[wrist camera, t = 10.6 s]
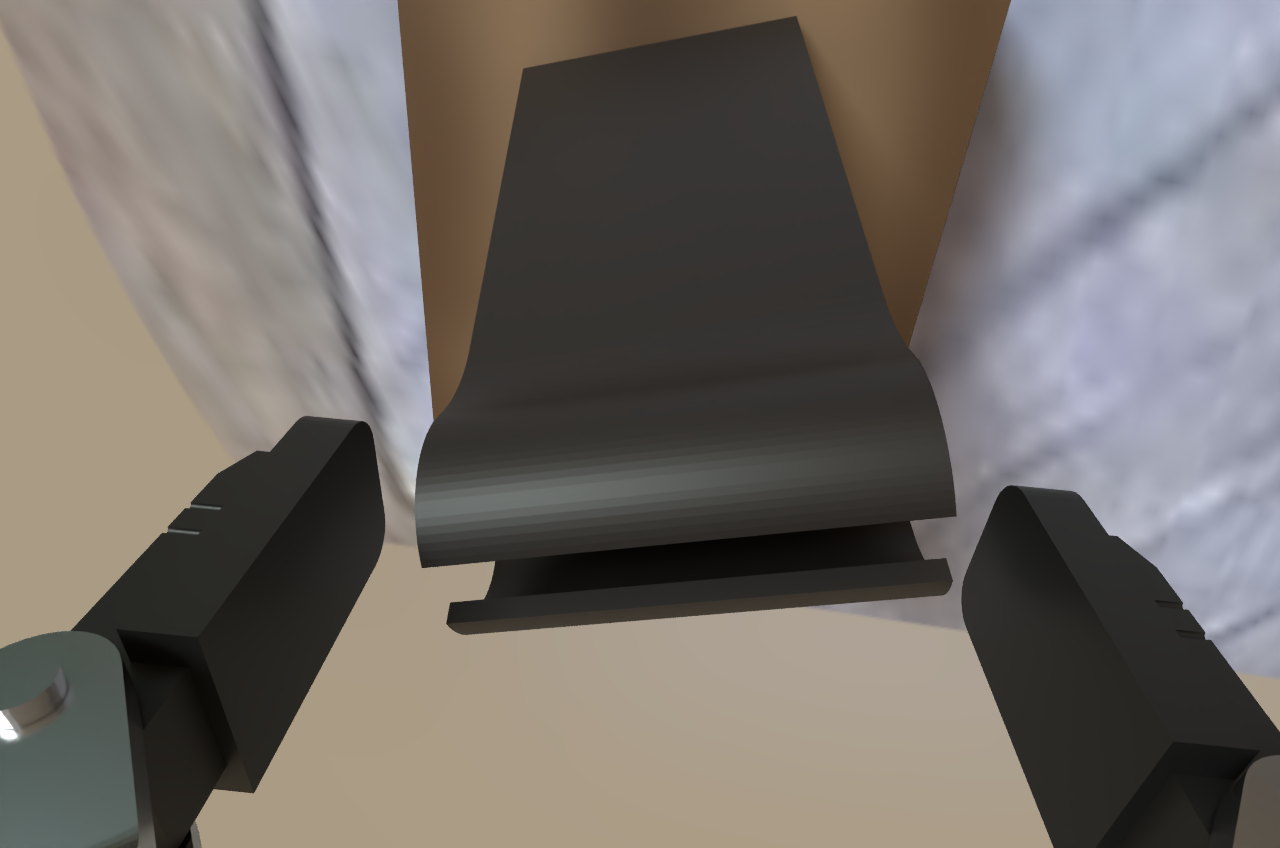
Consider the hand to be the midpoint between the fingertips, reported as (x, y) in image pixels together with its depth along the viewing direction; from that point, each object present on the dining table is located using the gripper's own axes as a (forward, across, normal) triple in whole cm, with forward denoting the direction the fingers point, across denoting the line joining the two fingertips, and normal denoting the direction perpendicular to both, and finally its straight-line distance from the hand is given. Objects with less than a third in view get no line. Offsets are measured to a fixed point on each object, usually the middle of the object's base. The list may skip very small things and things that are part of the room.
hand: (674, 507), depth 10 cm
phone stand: (+11, 0, 0) cm, 11 cm away
